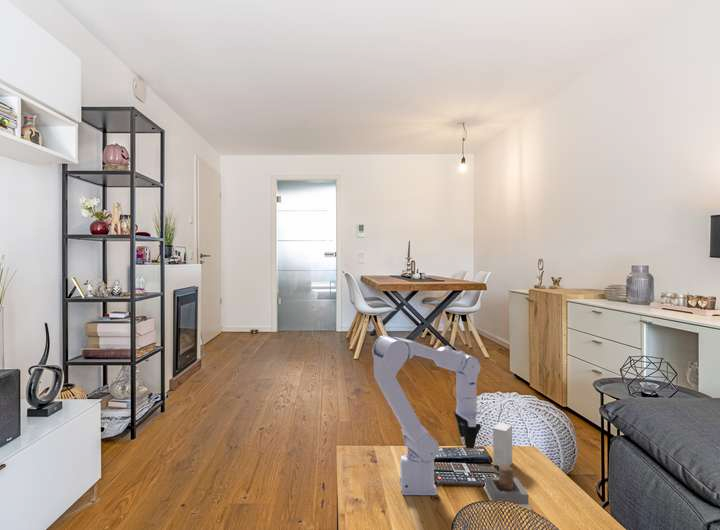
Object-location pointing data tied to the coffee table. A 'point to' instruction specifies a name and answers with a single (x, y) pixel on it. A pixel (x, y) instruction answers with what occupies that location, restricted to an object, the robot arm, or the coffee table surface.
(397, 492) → the coffee table surface
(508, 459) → the skincare box
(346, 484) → the coffee table surface
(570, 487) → the coffee table surface
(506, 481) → the walnut peg
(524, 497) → the socket board
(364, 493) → the coffee table surface
